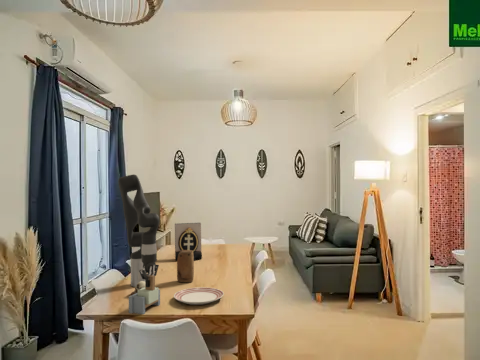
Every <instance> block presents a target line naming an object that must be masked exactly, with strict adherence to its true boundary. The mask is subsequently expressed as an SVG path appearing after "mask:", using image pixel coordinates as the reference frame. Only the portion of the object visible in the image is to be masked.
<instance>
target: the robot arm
mask: <svg viewBox="0 0 480 360" xmlns="http://www.w3.org/2000/svg"><path fill="white" fill-rule="evenodd" d="M118 187H119V192H120V196H121V201H122V208H123V209H122V210H123V213H124V214H123V215H124V219H125V221H124V222H125V226H126V235H127V244H128V246H129V247H130V248H139V249H138V250H136V251H133V252H132V253H130V286H131V287H133V288H135V287H136V286H137V284H138V283H139V282H141V281H145V285H146V287H150V275H153V276H155V277H156V276H157V273H158V270H159V267H160V266H159V264H156V262H157V261H158V259H157V258H158V256H157V253H158V251H157V249H158V248H157V233H158V229H159V225H160V216H159V215H158V214H157V212H153V213H151V207H150V205H149V203H148V201H147V199H146V197H145V193H144V189H143V187H142V184H141V181H140V179H139V177H138V175H136V174H128V175H125V176H120V177H119V178H118ZM134 191H136V193H135V195H134V198H133V199H132V198H131V197H130V196H129V195H128V193H131V192H134ZM137 225H139V227H141V228H142V229H145V228H149V230H147V231H135V232H134V229H135V227H137ZM147 275H148V277H147Z"/></svg>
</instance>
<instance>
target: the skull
mask: <svg viewBox="0 0 480 360" xmlns="http://www.w3.org/2000/svg"><path fill="white" fill-rule="evenodd" d="M144 287H145V281H141V282H139V283H138V284H137V286H136V287H134V291H132V292H131V293H130V296H131V295H134V294H136V293H138V290H140V289H142V288H144Z"/></svg>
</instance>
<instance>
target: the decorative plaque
mask: <svg viewBox="0 0 480 360" xmlns="http://www.w3.org/2000/svg"><path fill="white" fill-rule="evenodd" d="M181 250H192V251H193V255H194V261H197V260H202V259H203V254H202V252H203V251H202V223H201V222H184V223H183V222H182V223H179V222H178V223H174V255H175V256H174V257H175V261H176V262H177V259H178V254H179V252H180V251H181Z"/></svg>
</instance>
